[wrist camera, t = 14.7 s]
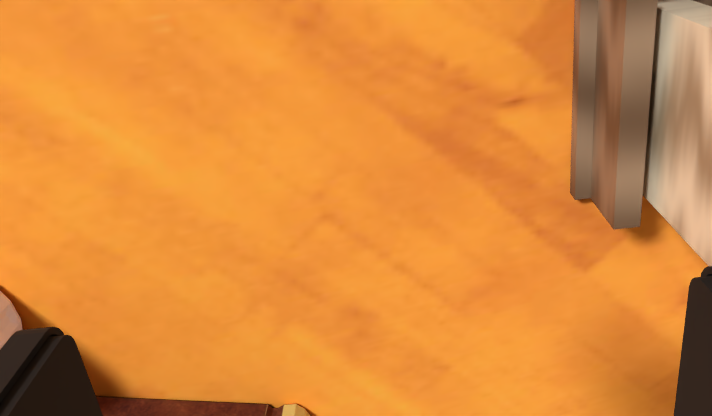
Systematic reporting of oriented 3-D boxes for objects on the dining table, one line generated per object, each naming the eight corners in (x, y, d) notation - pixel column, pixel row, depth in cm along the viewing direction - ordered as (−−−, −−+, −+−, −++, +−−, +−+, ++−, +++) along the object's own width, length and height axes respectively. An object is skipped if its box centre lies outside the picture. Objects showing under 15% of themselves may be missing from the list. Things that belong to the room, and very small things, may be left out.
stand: (575, -13, 34) (606, 1, 30) (731, -32, 34) (787, -21, 29) (570, 192, 39) (596, 231, 35) (705, 179, 39) (749, 216, 34)
